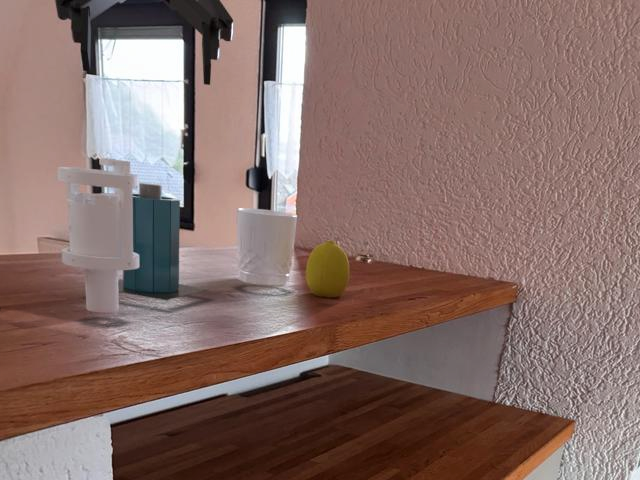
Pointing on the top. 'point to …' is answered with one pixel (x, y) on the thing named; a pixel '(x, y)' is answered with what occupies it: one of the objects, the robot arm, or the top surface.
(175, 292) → the grey peg stand
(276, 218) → the white cup
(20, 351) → the top surface
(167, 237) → the ring sleeve
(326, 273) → the lemon
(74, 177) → the white stepped cylinder
